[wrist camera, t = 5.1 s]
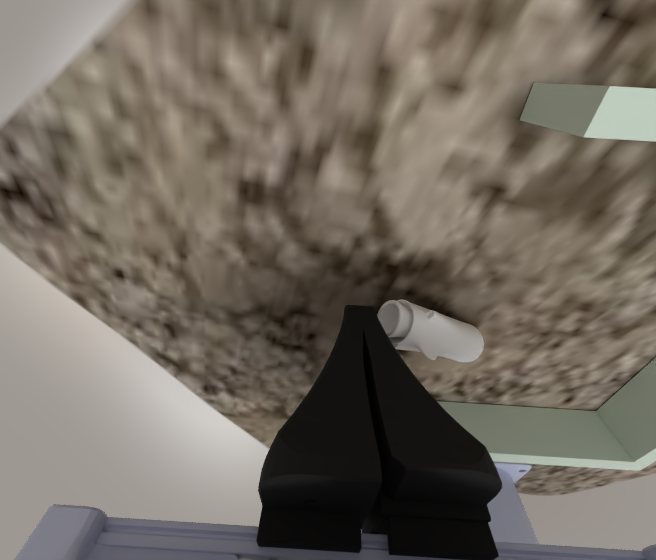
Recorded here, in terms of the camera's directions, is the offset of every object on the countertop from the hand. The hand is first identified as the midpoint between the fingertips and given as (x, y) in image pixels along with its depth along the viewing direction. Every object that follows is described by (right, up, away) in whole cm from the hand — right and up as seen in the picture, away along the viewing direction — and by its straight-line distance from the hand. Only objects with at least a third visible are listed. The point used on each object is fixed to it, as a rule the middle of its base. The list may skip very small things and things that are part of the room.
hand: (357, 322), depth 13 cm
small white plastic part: (+4, 0, +2) cm, 4 cm away
